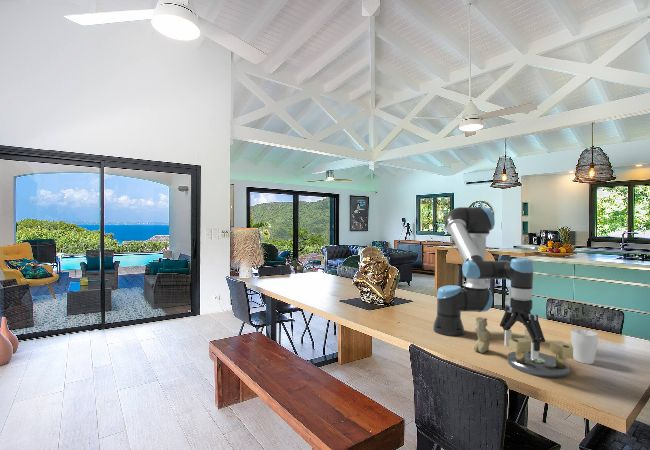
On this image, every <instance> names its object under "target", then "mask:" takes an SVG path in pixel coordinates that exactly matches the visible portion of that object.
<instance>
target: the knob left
mask: <svg viewBox="0 0 650 450" xmlns="http://www.w3.org/2000/svg"><path fill="white" fill-rule="evenodd" d="M508 349H509V350H510V351H511V352H516V362H517V363H520V364H524V363H525V352H531V340H528V339H526V338H525V337H518V338H517V337H515V338H511V339H509V346H508Z"/></svg>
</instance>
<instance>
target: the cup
mask: <svg viewBox="0 0 650 450" xmlns="http://www.w3.org/2000/svg"><path fill="white" fill-rule="evenodd" d="M598 336H599V335H598V333H597V332H595V331H593V330H589V329H582V328H572V329H571V331H570V342H571V347H573V360H574V361H576V362H578V363H580V364H587V365H591V364H594V363H595V358H596V353H597V347H598V344H599V343H598V342H599V339H598Z"/></svg>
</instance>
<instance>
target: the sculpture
mask: <svg viewBox="0 0 650 450" xmlns="http://www.w3.org/2000/svg"><path fill="white" fill-rule="evenodd" d="M475 321H476V322H475V326H476V327H475V329H474V331H475V333H476V335H477V339H476V341H475V343H474V345H473V350H474V351H475V352H479V353H481V354H482V353H483V354H484V353H485V352H489V350H490V344H491V343H490V336H491V333H490V331H489V330H488V329H487V326H488V322H487V321H488V318H486V317H482V316H478V317H476V318H475Z"/></svg>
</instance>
